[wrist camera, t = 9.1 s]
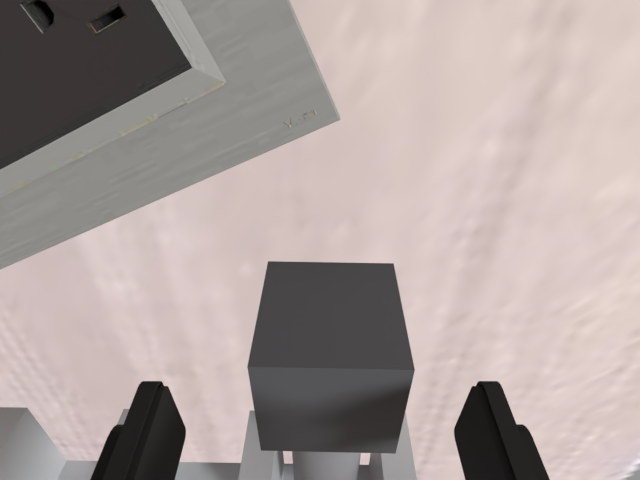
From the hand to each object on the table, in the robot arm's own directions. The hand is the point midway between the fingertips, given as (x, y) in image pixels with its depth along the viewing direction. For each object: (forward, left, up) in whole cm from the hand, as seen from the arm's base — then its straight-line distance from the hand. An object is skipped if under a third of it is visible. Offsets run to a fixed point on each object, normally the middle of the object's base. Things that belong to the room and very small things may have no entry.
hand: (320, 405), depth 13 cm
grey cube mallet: (+6, 0, -5) cm, 8 cm away
